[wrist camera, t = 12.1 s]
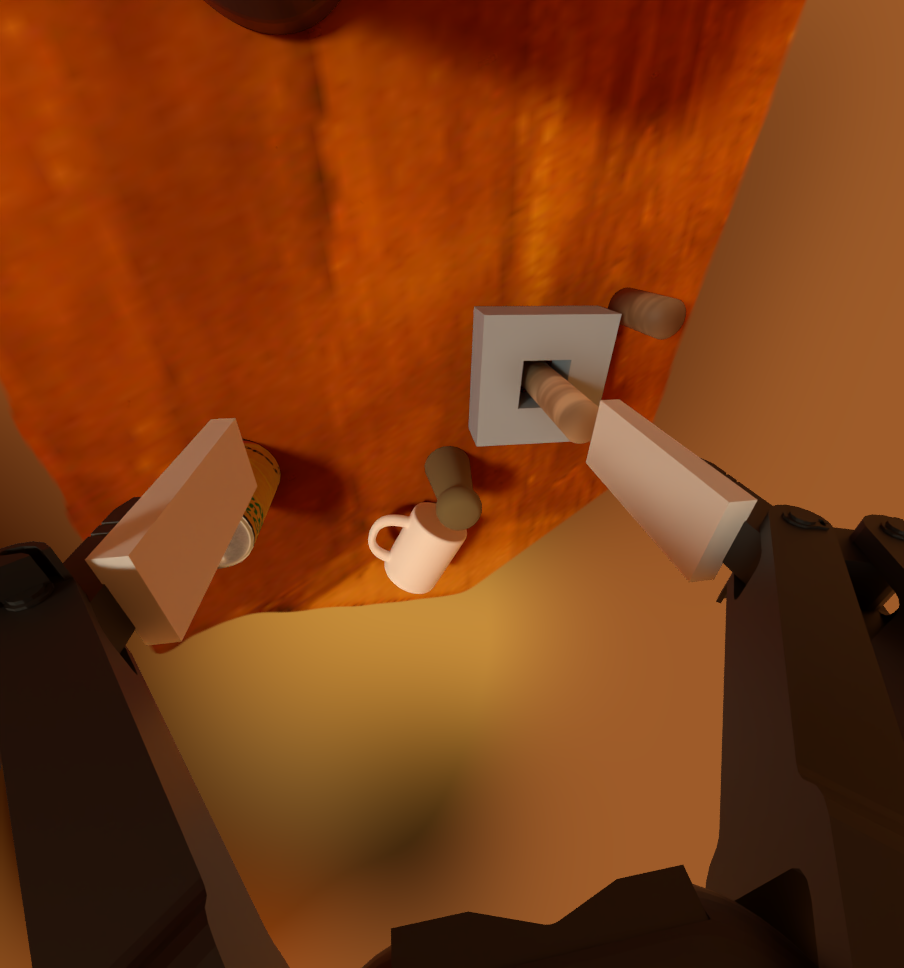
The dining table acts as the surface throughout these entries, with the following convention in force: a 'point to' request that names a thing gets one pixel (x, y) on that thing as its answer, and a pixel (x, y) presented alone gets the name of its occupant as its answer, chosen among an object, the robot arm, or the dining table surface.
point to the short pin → (648, 312)
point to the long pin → (560, 401)
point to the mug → (417, 548)
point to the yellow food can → (254, 504)
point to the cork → (453, 488)
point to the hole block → (533, 337)
